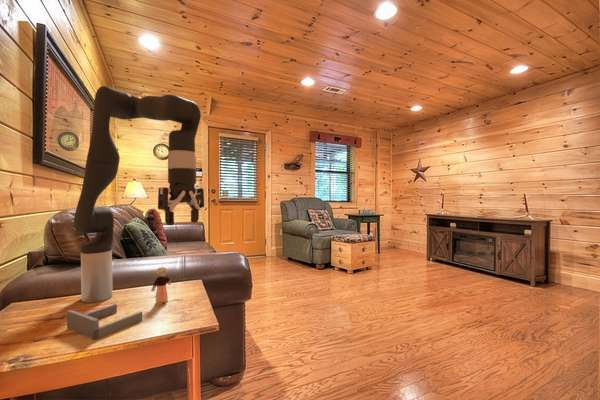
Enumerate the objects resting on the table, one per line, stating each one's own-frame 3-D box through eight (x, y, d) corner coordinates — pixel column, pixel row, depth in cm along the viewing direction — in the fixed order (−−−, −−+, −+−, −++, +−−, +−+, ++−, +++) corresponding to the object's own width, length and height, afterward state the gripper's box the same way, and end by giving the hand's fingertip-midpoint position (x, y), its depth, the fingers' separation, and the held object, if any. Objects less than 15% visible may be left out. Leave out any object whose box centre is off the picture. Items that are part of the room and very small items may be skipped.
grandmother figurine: (159, 307, 95) (159, 269, 95) (149, 306, 96) (149, 269, 96) (174, 299, 103) (173, 264, 102) (164, 298, 103) (164, 263, 103)
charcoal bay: (67, 328, 80) (66, 310, 80) (115, 311, 92) (114, 296, 92) (94, 339, 74) (94, 320, 74) (142, 320, 85) (142, 303, 85)
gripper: (192, 170, 90) (193, 221, 91) (151, 166, 78) (151, 225, 78) (210, 169, 87) (210, 222, 87) (169, 164, 74) (170, 226, 75)
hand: (182, 223), depth 83 cm, fingers open, 8 cm apart
